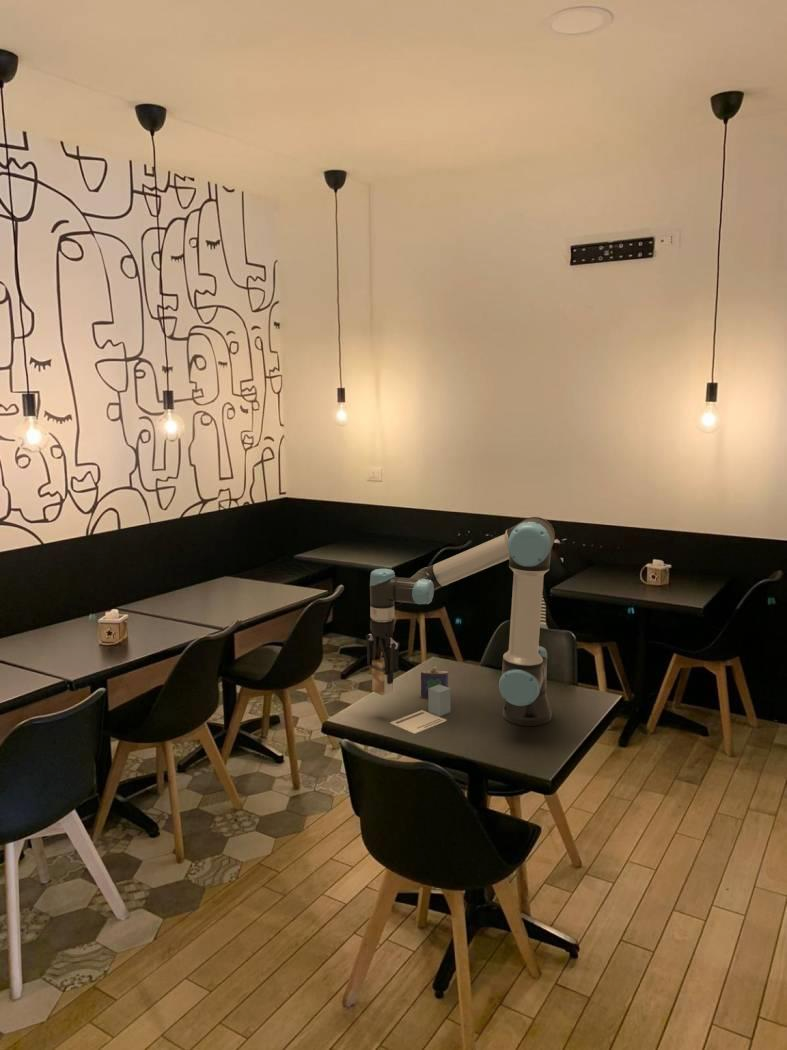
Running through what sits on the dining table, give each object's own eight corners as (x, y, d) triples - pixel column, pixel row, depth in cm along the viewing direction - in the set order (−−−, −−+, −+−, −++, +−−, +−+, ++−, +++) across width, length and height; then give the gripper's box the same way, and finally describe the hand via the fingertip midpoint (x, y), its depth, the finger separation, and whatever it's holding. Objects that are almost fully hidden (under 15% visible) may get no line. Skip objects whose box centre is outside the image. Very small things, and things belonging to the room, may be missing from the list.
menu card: (446, 720, 247) (446, 719, 247) (414, 734, 238) (414, 733, 238) (421, 711, 255) (421, 710, 255) (390, 723, 246) (390, 722, 246)
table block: (392, 691, 248) (392, 661, 247) (381, 695, 245) (381, 664, 244) (383, 687, 252) (382, 657, 250) (372, 691, 249) (372, 660, 247)
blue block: (450, 712, 254) (450, 688, 253) (439, 716, 251) (439, 692, 249) (439, 707, 258) (439, 684, 256) (428, 712, 254) (428, 688, 253)
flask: (448, 695, 268) (448, 665, 266) (448, 698, 265) (448, 668, 263) (421, 695, 268) (420, 665, 267) (420, 698, 265) (420, 668, 264)
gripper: (354, 615, 249) (355, 686, 252) (392, 627, 236) (392, 701, 240) (372, 611, 254) (373, 680, 257) (410, 622, 241) (410, 695, 245)
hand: (382, 690), depth 249 cm, fingers closed on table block, 4 cm apart
